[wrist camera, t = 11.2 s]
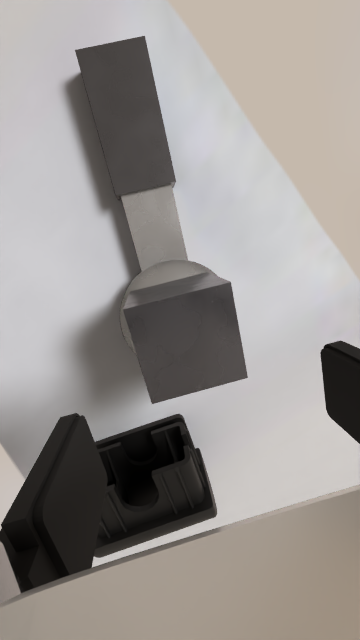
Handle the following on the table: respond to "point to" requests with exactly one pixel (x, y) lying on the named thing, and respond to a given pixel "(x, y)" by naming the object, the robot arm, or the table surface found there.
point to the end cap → (151, 485)
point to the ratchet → (137, 159)
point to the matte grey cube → (186, 335)
